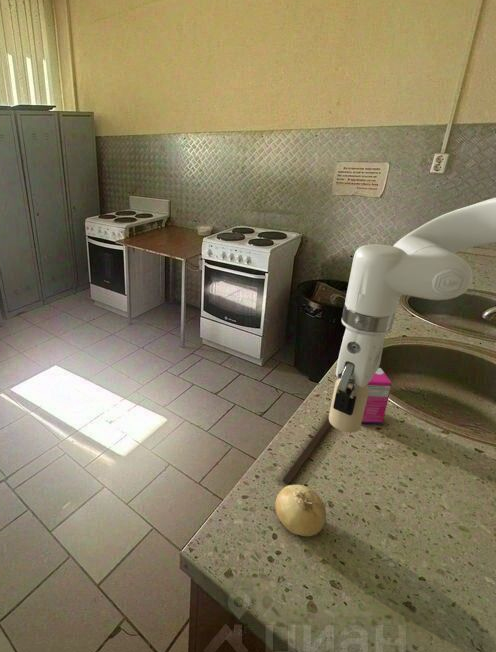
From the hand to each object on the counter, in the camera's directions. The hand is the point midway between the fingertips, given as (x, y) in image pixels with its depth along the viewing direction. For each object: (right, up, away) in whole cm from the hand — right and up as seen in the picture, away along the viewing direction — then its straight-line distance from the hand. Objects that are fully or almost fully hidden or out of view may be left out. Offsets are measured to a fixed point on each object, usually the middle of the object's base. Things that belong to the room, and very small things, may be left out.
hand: (348, 402), depth 74 cm
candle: (0, -5, +2) cm, 5 cm away
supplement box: (+13, -8, +17) cm, 23 cm away
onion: (-12, -19, -6) cm, 23 cm away
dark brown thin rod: (-3, -12, +9) cm, 15 cm away
